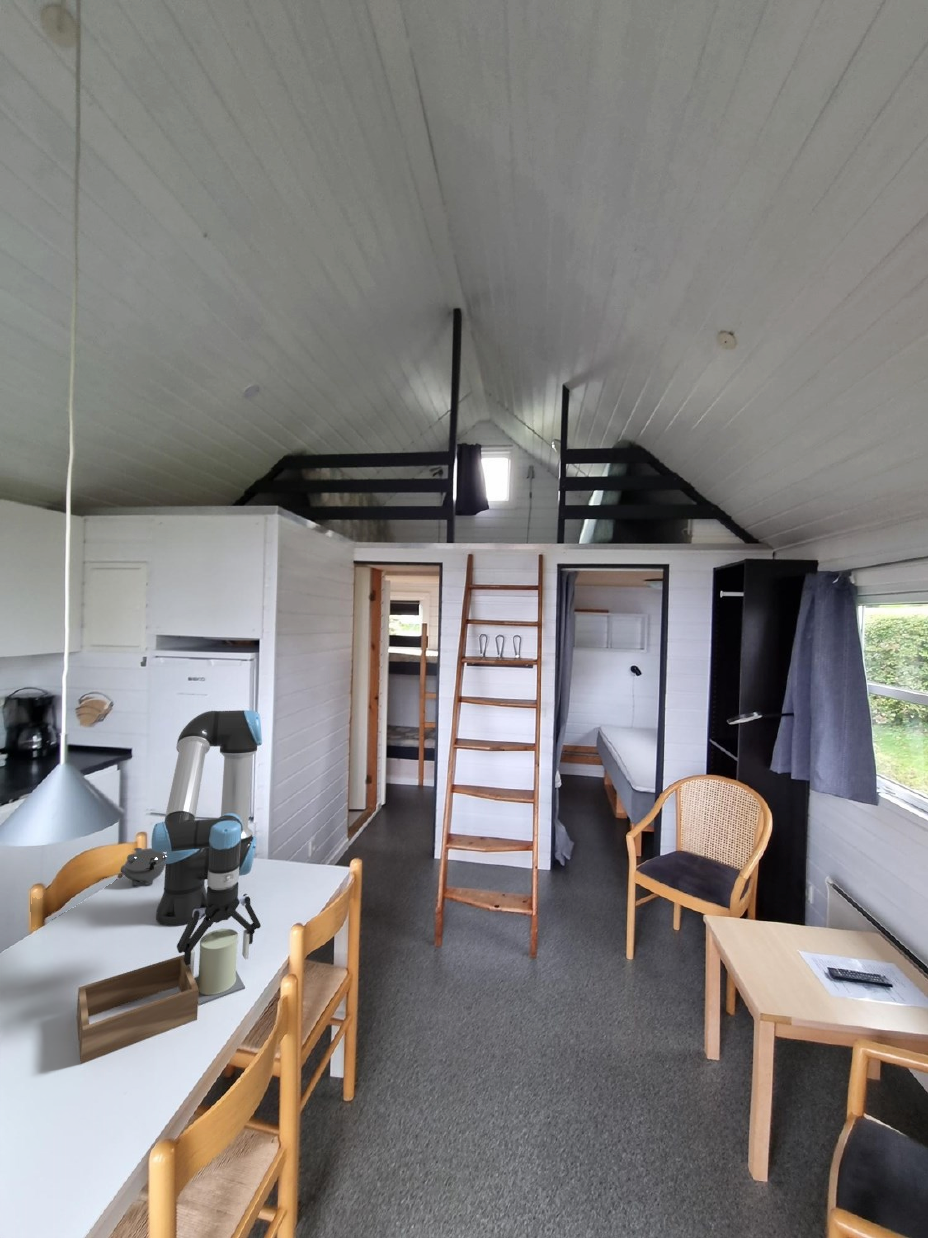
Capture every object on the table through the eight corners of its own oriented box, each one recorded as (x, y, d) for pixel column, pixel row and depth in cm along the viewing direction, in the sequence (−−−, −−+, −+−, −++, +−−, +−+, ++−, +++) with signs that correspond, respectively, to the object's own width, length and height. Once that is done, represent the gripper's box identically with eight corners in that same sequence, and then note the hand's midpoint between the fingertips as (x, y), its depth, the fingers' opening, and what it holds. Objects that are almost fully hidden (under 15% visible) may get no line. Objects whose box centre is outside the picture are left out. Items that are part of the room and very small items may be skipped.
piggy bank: (126, 876, 193) (128, 844, 193) (171, 873, 197) (173, 842, 197) (114, 891, 182) (116, 857, 182) (162, 888, 186) (164, 855, 186)
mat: (188, 981, 138) (188, 980, 138) (232, 966, 145) (233, 965, 145) (198, 1005, 130) (198, 1004, 130) (244, 988, 137) (245, 987, 137)
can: (228, 967, 144) (230, 922, 144) (241, 984, 137) (244, 937, 138) (191, 982, 138) (194, 935, 138) (204, 1000, 131) (207, 951, 131)
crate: (76, 1017, 124) (78, 987, 124) (182, 981, 138) (184, 954, 138) (80, 1064, 111) (82, 1030, 111) (197, 1019, 125) (198, 989, 125)
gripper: (172, 904, 128) (167, 993, 127) (275, 877, 143) (271, 956, 143) (166, 891, 133) (162, 976, 133) (266, 866, 149) (262, 942, 149)
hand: (218, 966), depth 138 cm, fingers open, 13 cm apart
